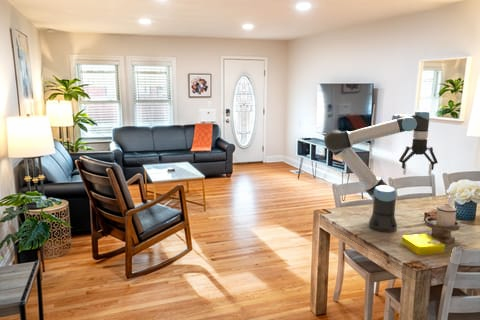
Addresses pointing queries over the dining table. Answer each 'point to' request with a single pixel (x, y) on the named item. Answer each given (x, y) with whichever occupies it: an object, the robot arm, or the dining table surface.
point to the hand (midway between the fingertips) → (416, 174)
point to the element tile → (423, 244)
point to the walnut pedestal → (441, 230)
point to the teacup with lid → (445, 215)
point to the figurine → (450, 199)
